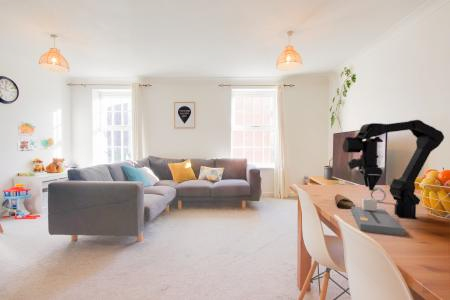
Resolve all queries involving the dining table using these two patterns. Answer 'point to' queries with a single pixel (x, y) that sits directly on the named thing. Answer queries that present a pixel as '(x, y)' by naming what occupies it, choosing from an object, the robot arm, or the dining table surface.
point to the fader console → (376, 221)
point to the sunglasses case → (343, 202)
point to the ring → (380, 190)
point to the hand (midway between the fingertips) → (368, 188)
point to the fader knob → (369, 204)
